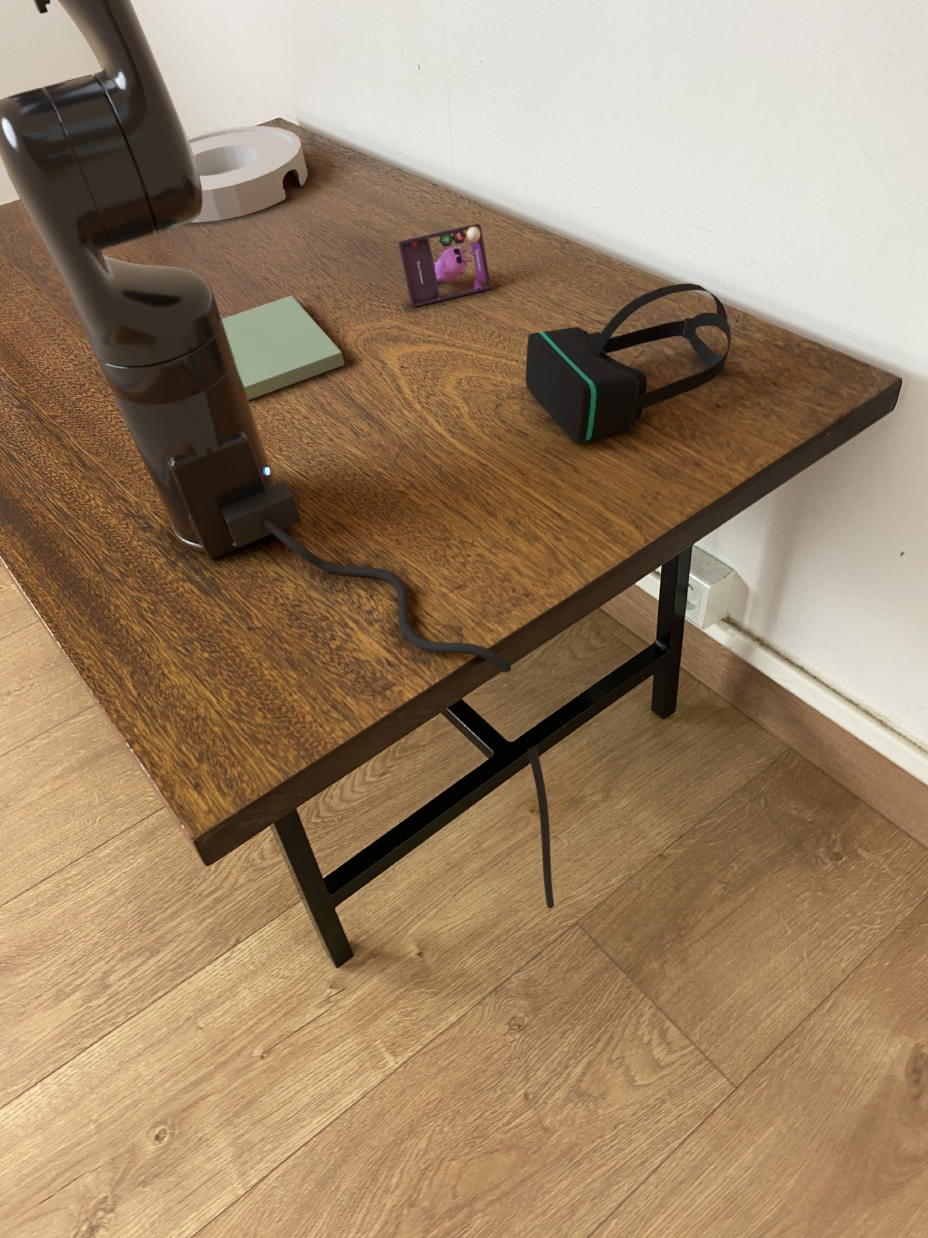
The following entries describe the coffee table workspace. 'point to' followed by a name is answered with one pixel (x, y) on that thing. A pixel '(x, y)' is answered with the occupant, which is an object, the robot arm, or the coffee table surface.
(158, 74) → the robot arm
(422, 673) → the coffee table surface
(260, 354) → the notebook
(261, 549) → the coffee table surface
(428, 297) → the game card
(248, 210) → the white notched ring
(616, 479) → the coffee table surface
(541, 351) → the virtual reality headset
